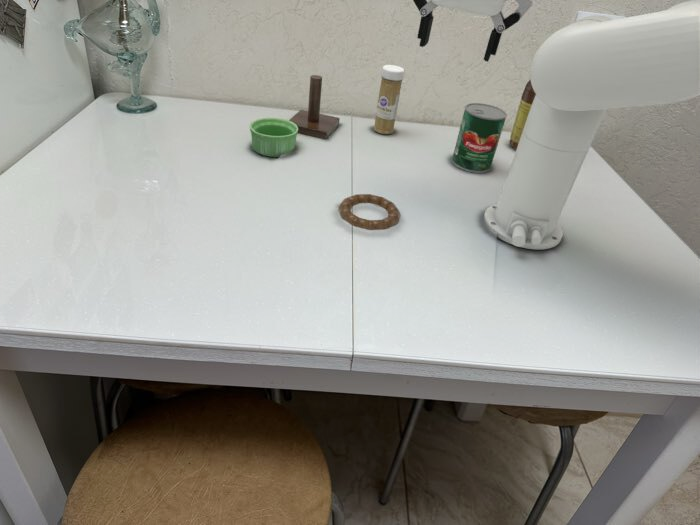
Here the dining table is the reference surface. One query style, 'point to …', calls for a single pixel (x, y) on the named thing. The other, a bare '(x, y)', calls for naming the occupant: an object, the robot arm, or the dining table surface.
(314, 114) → the stand
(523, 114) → the sauce bottle
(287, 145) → the ramekin
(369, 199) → the ring
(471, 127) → the canned tomato
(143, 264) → the dining table surface
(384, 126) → the sprinkles bottle
